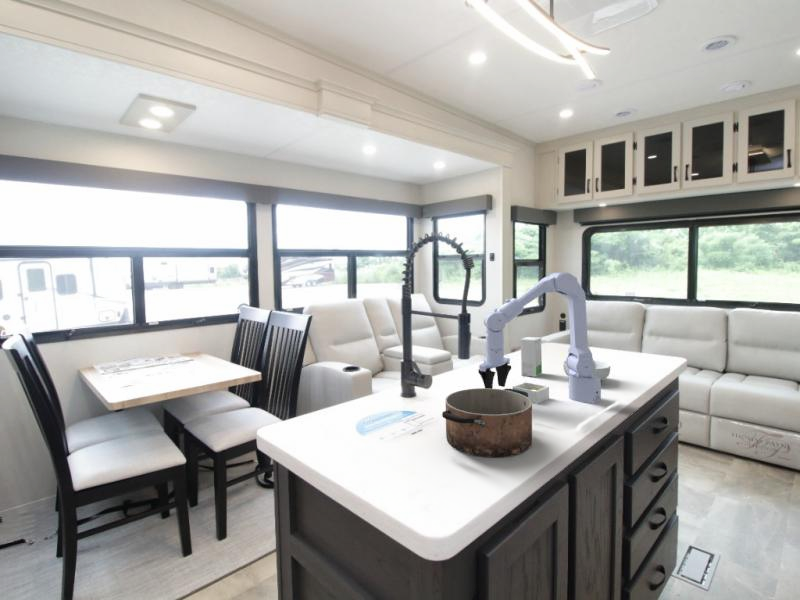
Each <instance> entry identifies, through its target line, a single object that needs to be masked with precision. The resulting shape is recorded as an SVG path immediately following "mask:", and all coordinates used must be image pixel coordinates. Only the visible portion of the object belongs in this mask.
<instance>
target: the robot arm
mask: <svg viewBox="0 0 800 600" xmlns="http://www.w3.org/2000/svg"><path fill="white" fill-rule="evenodd" d="M546 293H558V294H560V295H561V296H563V297H565V298H566V299H567V301H568V321H569V337H570V339H569V341H570V345H569V347H568V349H567V357H566V359H565V361H566V364H567V366H568V368H570V370H569V376H568V399H569V400H571V401H574V402H579V403H580V402H582V403H586V404H591V405H595V404H596V403H598V402H600V401H601V397H602V383H601V381H602V380H601V381H600V379H599V378H597V377H594V376H592V374H593V373H594V372H595V369H596V365H595V362H594V361H595V360H594V358H593V352H592V350H591V349H590V347H589V344H588V343H589V341H588V340H589V339H588V322H587V321H588V320H587V302H586V300H587V299H586V292H585V290H584V289H583V287H582V286H581V284H580V282H579V281H578V277H576V276H574V275H573V274H572V273H569V272H566V271H564V272H557V271H556V272H555V271H554V272H551V273H550V274H548V276H545V277H543V278H541V279H540V280H539V281H538V282H537V283H535V284H534V285H533V286H532V287H531V286H530V288H529V289H528V290H526V291H525V292H524V293H523V294H521V295H520V296H519V297H518V298H514V297H513V298H510V299H509V298H507V299H505V301H504V303H503V304H502V305H501V306H499V307H498V308H496V307H495V308H494V309H493V311H494V312H489V313H487V314H486V315H485V318H484V320H483V324H484V326H485V327H486V328H485V329H486V330H485V354H486V355H485V356H486V357H485V360H483V362H482V363H481V364H479V366H478V369H477V371H478V374H479V375H480V377H481V380H482V382H483V385H484V388H491V389H494V388H493V387H494V386H493V384H494V378H495V375H496V376H497V384H498V387H504V388H505V386H506V383H507V379H508V376H509V373H510V372H511V369H512V365H510V363H511V362H510V361H511V359H510V357H509V358H508V357H504V356H505V355H504V353H505V352H504V351H505V349H504V328H506V324H508V323H509V322H511V321H512V320H513V319H514V318H516V317H517V316H519V315H520V314H522V313H523V311H524V307H525V306H527V305H528V304H530V303H531V302H533V301H534V300H535V299H537V298H539V297H540V296H541V295H543V294H546ZM491 369H495V371H493V370H491Z"/></svg>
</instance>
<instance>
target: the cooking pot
mask: <svg viewBox="0 0 800 600" xmlns="http://www.w3.org/2000/svg"><path fill="white" fill-rule="evenodd" d="M441 417H442V418H443V419H445V437H446V441H447V442H448V444H449V445H450V444H451V445H450V446H453V448H454V449H455V448H456V451H459V452H462V453H463V454H468V455H469V456H470V455H471V456H475V457H481V458H490V459H491V458H492V459H493V458H508V457H509V458H510V457H513V456H517V455H519V454H522V453H525V452H526V451H527V450H529V448H531V446H532V444H533V403H532V402H531V400H530V399H529V398H528V393H527V392H524V391H520V390H515V389H513V388H504V389H500V388H492V389H491V388H485V387H483V388H482V387H481V388H480V387H479V388H468V389H467V388H466V389H460V390H457V391H455V392H452V393H450V394H449V395H448V396H446V398H445V410H444V411H442V414H441Z"/></svg>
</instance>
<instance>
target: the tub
mask: <svg viewBox="0 0 800 600" xmlns="http://www.w3.org/2000/svg"><path fill="white" fill-rule="evenodd" d="M524 388H528V389H530V390H528V389H524ZM534 388H537V389H540V390H538V391H533V390H532V389H534ZM512 389H515V390H520V391H524V392H527V393H528V398H529V399H530V400H531V402H532V404H535V405H539V404H540V403H542V402H544V401H546V400H547V401H548V400H549V399H550V387H549V386H547V385H543V384H538V383H532V382H527V381H525V382H522V383H518V384H515V385H514V386H512Z"/></svg>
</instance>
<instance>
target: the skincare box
mask: <svg viewBox="0 0 800 600" xmlns="http://www.w3.org/2000/svg"><path fill="white" fill-rule="evenodd" d="M542 355H543V354H542V337H537V336H535V337H534V336H526V337H523V338H522V337H521V338H520V356H521V357H520V362H521V363H520V365H521V367H520V368H521V376H522V375H525V377H530V376H532V377H531V378H536V377H538V376H540V375H541V373H542V374H543V369H542V368H543V367H542V365H543V363H542V361H543V358H542Z"/></svg>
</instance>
